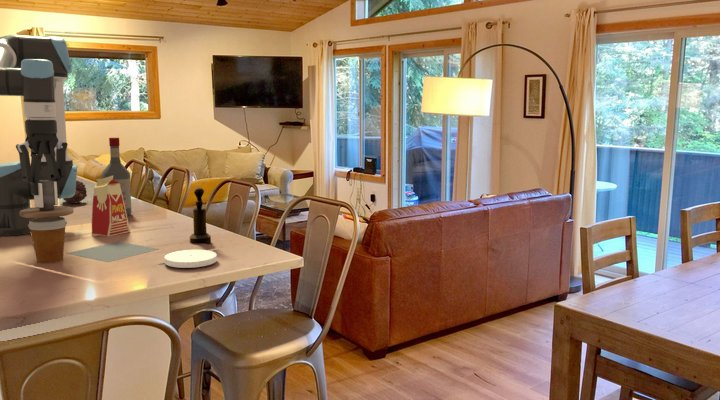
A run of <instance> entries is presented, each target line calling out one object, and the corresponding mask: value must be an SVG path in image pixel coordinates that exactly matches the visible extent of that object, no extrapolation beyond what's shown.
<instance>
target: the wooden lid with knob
mask: <svg viewBox="0 0 720 400" xmlns="http://www.w3.org/2000/svg"><path fill="white" fill-rule="evenodd" d="M39 183H42V191H43V206H44V207H42V208H40V207H35V206H34V207H33V206H32V207H31V208H27V209H23V210H21V211H20V216H21V217H25V218H52V217H65V216H69V215H72V214H73V213H74V207H72V206H64V205H56V206H55V205H54V196H53V181H52V180H40V181H39Z"/></svg>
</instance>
